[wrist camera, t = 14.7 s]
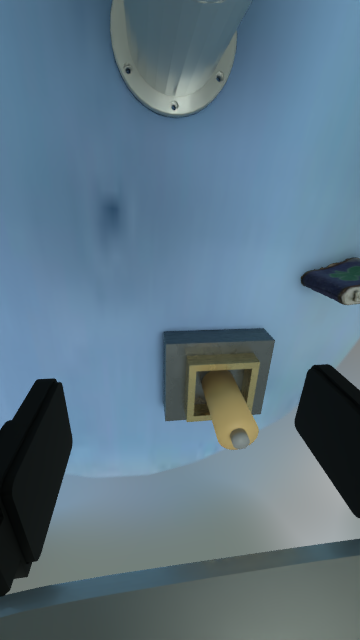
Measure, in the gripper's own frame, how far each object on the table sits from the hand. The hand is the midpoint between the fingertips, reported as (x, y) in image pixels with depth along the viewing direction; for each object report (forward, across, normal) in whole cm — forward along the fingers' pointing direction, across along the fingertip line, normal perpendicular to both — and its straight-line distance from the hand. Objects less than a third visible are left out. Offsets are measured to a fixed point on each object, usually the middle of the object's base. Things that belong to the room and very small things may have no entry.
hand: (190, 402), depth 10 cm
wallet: (+29, -26, +2) cm, 39 cm away
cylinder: (+24, -9, +18) cm, 31 cm away
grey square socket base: (+28, -9, +18) cm, 35 cm away
